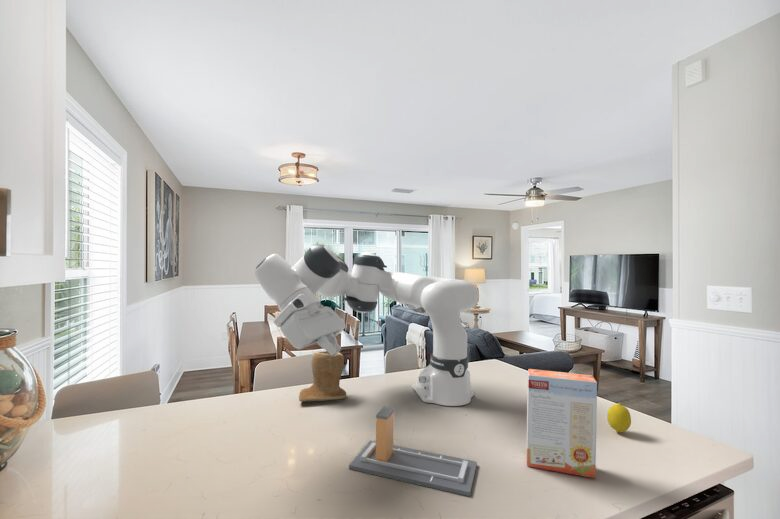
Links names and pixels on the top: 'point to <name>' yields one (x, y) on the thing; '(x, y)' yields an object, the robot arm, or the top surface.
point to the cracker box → (562, 422)
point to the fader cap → (384, 433)
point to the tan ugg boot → (325, 378)
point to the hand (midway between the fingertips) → (336, 352)
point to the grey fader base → (419, 468)
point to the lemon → (619, 417)
